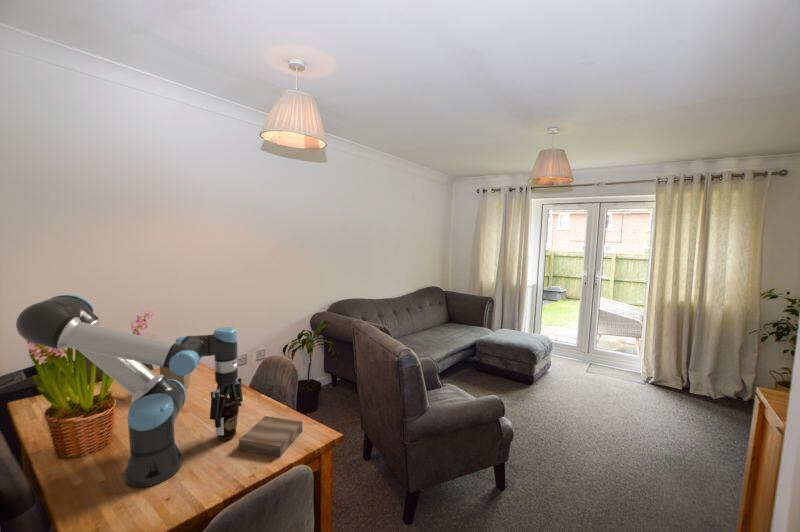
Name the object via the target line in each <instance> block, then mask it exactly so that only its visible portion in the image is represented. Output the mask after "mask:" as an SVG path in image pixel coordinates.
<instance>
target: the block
mask: <svg viewBox="0 0 800 532" xmlns="http://www.w3.org/2000/svg"><path fill="white" fill-rule="evenodd" d="M190 374H191V373H190ZM190 374H188V375H184V376H178V375H175V374H174V373H172V372H171V370H170V368H166V367H161V366H159V375H164V376H165V377H166V378H167V379H171V380H172V379H174V380H177V381H179V382H180V383H181V384H182V385H183V386H184V388H185V390H187V388H188V387H189V386H190V383H191V376H190Z"/></svg>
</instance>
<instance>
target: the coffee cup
mask: <svg viewBox="0 0 800 532" xmlns="http://www.w3.org/2000/svg"><path fill="white" fill-rule="evenodd" d="M238 407H240V406H239V403H238V400H237V399H233V398H230V397H227V399H226V400H225V405H224V409H223V414H222V417H223V418H224V435H223V436H222V435H217V438H218V439H220V440H228V439H232V438H233V437H235V436H236V434H237V427H238V423H237V420H238V421H239V413H238Z"/></svg>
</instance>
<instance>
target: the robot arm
mask: <svg viewBox="0 0 800 532" xmlns="http://www.w3.org/2000/svg"><path fill="white" fill-rule="evenodd" d="M15 322H16V323H15V325H16V326H15V327H16V331H17V333H18V334H19V336H21V338H23V339H24V340H26V341H28V342H29V343H32V344H35V345H38V346H41V347H46V348H48V349H55V350H56V349H57V350H64V349H67V348H70V349H75V350H76V351H78V352H79V353H81V355H83V356H84V357H85V358H86V359H88V360H89V361H90V362H92V363H93V364H94V365H95V366H96V367H98V368H99V369H100V370H101V371H102V372H104V374H106V375H107V376H108V377H110V378H111V379H112V380H113V381H114V382H116V384H118V385H119V386H120V387H122V388H123V389H124V390H125V391H127V392H128V393H129V394H130V395H131V403H132V404H130V406H129V409H128V411H127V420H126V421H127V424H128V435H129V437H128V438H129V453H130V455H129V458H128V462H127V466H126V468H125V470H124V483H125V484H126V486H128V487H129V488H130V487H131V488H136V489H137V488H139V489H140V488H141V489H142V488H147V487H148V488H149V487H151V486H155V485H158V484H160V483H162V482H164V481H167V480H168V479H171V477H173V476H174V475H175V474H176V473H178V472H179V471H180V469H181V468H182V466H183V456H182V453H181V452H180V449H179V448H178V445H177V444H176V440H175V437H176V436H175V435H176V434H175V421H176V420H177V417H178V415H179V413H180V411H181V409H182V408H183V406H184V405H185V402H186V398H187V397H186V396H187V391H186V390H187V389H186V390H185V388H184V386H183V385H182V384H181V383H180V382H179V381H177V380H174V379H172V380H171V379H167V378H166V377H165V376H164V375H160V374H155V373H154V372H153V371H152V370H151V369H150V368H148V367H147V366H146V365H147V364H148V365H153V366H157V367H160V366H161V367H166V368H170V370H171V372H172V373H174V374H175V375H178V376H184V375H188V374H191V373H193V372H194V371H195V369H196V368H197V367H198V366H199V364H200V361H201V360H202V357H212V356H214V371H215V372H214V381H215V383H216V384H217V386H216V389H215V390H214V391H211V392H210V399H211V400H210V411H209V419H210V420H211V421H212V420H213V421H214V427H215V435H217V436H218V435H222V436H223V435H224V418H223V417H222V414H223V409H224V405H225V400H226V399H227V398H233V399H237V400H238V403H239V407H241V406H242V403H243V398H244V397H243V389H242V378H241V377H238V376H239V375H238V372H239V371H238V370H239V369H238V335H237V334H238V333H237V329H236V328H234V327H231V326H224V327H223V326H222V327H218V328H216V329H215V330H214V332H213V333H212V334H201V335H199V334H198V335H184V336H179V337H177V338H176V340H175V343H173V342H170V341H165V340H160V339H157V338H151V337H148V336H143V335H139V334H135V333H130V332H126V331H122V330H118V329H113V328H111V327H110V328H109V327H105V326H101V325H100V324H101V319H100V318H99V317H98V316H97V315H96V314H95V313H94V306H93V304H92V303H91V302H90V301H89V300H88V299H86V298H85V297H83V296H80V295H77V294H62V295H61V294H60V295H56V296H53V297H51V298H49V299H46V300H43V301H40V302H35V303H33V304H31V305H29V306H27V307H26V308H24V309H22V311H21V312H20V314H19V315H18V316H17V318H16V321H15ZM145 364H146V365H145ZM239 407H238V414H239V411H240V408H239ZM237 424H239V419H238V420H237Z"/></svg>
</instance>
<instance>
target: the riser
mask: <svg viewBox="0 0 800 532" xmlns="http://www.w3.org/2000/svg"><path fill="white" fill-rule="evenodd" d="M303 431H304V430H303V421H301V420H294V419H287V418H281V417H273V416H267V415H265V416H264V417H262V418H261V419H260V420H259V421H258V422H257V423H255V425H254V426H252V427H251V428H250V429H248V431H247V432H245V434H244V435H242V436H241V437H240V438H239V439H238V446H239V447H238V448H239V450H238V451H244V452H250V453H253V454H254V453H255V454H260V455H266V456H271V457H277V458H281V457H282V456H283V454H285V452H286V451H287V450H288V449H289V448H290V447H291V446H292V444H294V442H295V441H296V440H297V438H298V437H299V436H301V434H302V433H303Z"/></svg>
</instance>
